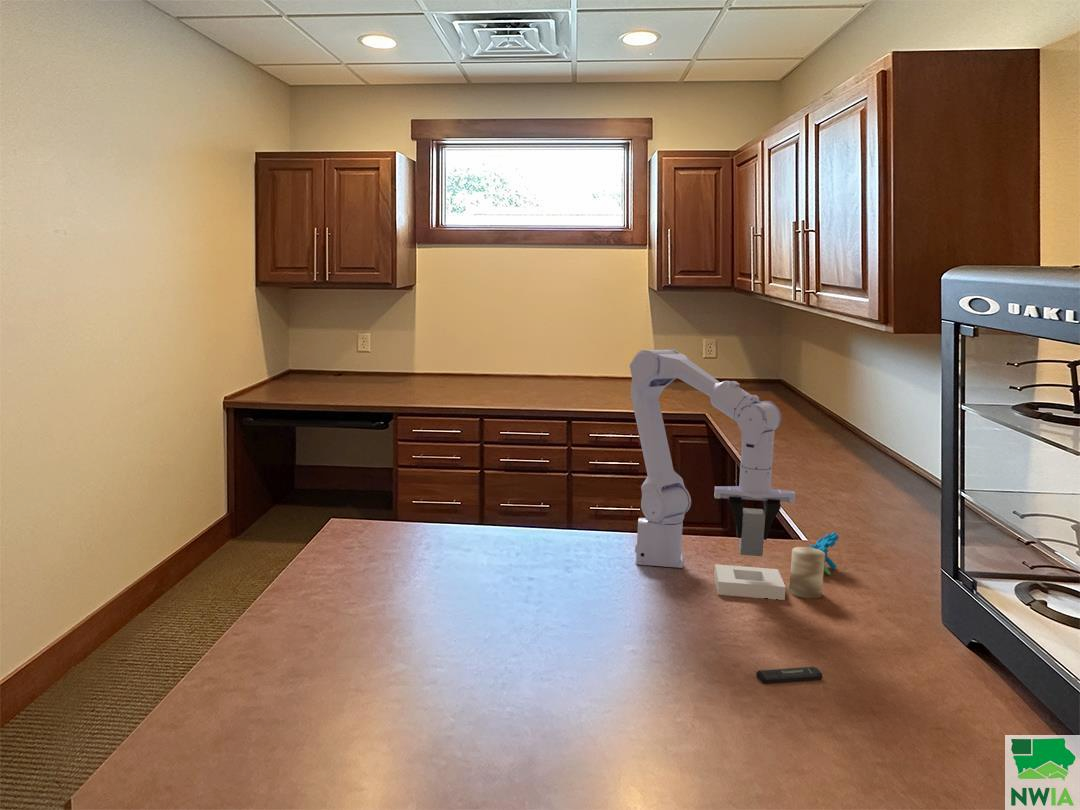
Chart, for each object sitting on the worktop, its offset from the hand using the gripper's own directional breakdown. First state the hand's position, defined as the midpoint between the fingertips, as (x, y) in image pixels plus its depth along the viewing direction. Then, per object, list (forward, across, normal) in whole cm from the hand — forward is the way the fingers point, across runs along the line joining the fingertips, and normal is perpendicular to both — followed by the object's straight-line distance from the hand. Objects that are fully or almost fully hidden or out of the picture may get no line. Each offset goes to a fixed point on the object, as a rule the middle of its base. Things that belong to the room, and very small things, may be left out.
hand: (751, 537), depth 148 cm
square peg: (+3, 0, 0) cm, 3 cm away
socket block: (+10, 0, 0) cm, 10 cm away
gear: (+10, +16, +16) cm, 24 cm away
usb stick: (+10, +2, -36) cm, 38 cm away
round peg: (+10, +10, 0) cm, 14 cm away
